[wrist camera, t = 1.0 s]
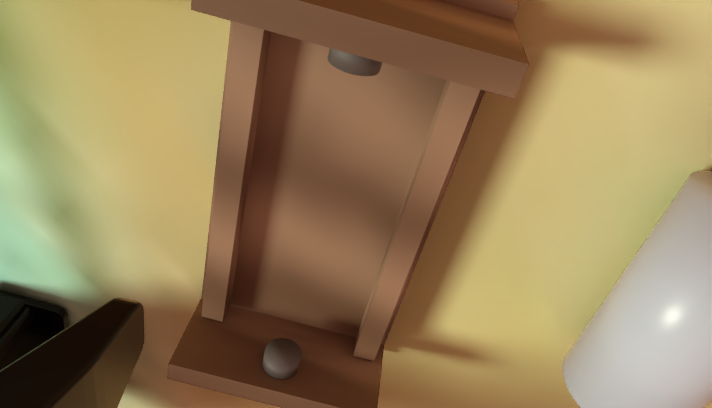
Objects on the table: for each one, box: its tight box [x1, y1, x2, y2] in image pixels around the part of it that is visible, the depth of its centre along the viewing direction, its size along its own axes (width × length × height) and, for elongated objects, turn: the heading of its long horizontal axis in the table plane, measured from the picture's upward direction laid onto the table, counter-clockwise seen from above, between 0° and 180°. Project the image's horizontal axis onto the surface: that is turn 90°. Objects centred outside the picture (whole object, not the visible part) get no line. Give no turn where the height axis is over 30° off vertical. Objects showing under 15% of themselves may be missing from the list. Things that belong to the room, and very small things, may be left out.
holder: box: [168, 0, 529, 408], centre depth 21 cm, size 18×9×5 cm, turn 167°
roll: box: [563, 170, 712, 408], centre depth 22 cm, size 10×5×5 cm, turn 167°
